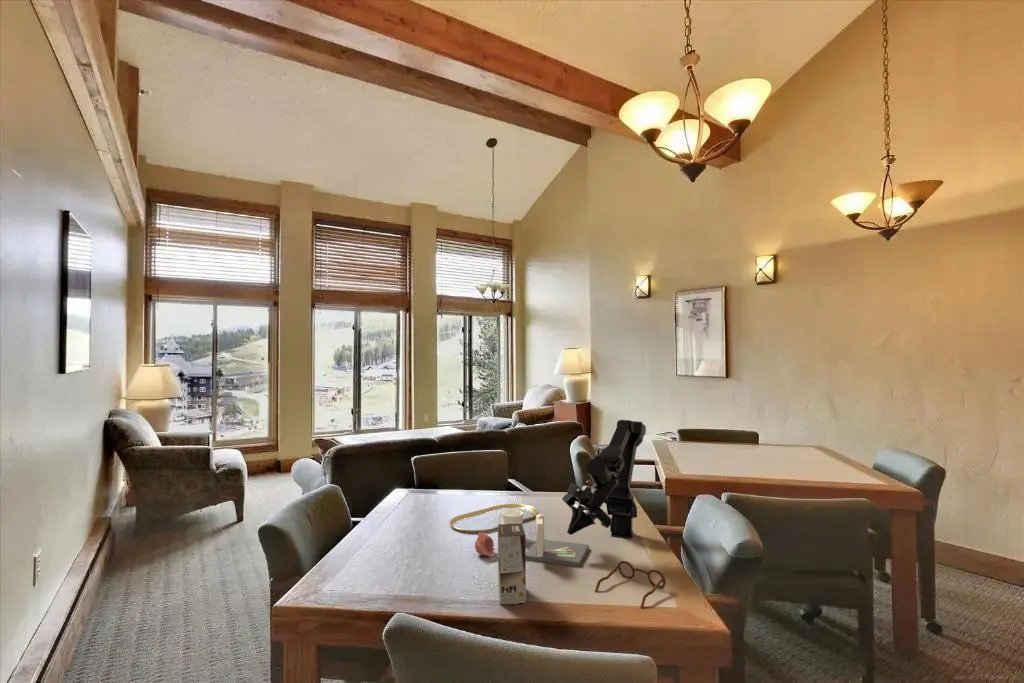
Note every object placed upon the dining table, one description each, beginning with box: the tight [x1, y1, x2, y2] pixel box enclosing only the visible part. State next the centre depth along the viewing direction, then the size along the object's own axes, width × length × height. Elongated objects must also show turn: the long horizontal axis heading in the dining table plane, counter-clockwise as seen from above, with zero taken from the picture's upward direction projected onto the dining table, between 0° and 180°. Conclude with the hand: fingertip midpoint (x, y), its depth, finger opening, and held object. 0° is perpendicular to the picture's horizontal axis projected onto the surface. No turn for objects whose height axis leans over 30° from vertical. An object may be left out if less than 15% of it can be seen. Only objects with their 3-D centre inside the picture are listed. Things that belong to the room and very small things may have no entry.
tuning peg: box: [535, 513, 572, 557], centre depth 148 cm, size 9×10×10 cm
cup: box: [498, 509, 525, 525], centre depth 167 cm, size 7×10×8 cm
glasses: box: [594, 560, 667, 610], centre depth 128 cm, size 13×13×5 cm
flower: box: [474, 531, 496, 558], centre depth 152 cm, size 8×8×6 cm
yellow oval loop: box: [449, 503, 538, 534], centre depth 185 cm, size 19×35×2 cm, turn 132°
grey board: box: [526, 539, 590, 568], centre depth 152 cm, size 16×14×1 cm
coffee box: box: [497, 522, 527, 605], centre depth 126 cm, size 9×6×16 cm
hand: (568, 533), depth 150 cm, fingers closed
